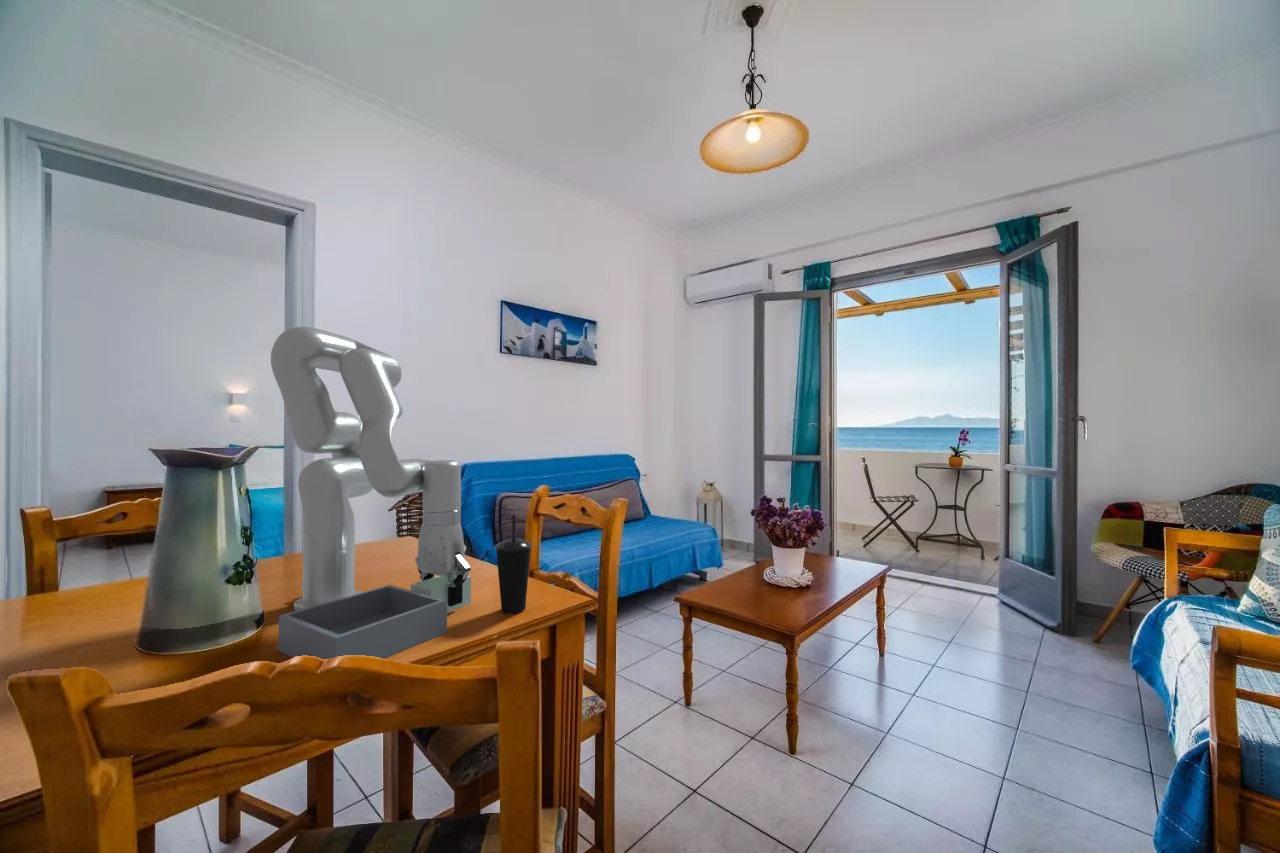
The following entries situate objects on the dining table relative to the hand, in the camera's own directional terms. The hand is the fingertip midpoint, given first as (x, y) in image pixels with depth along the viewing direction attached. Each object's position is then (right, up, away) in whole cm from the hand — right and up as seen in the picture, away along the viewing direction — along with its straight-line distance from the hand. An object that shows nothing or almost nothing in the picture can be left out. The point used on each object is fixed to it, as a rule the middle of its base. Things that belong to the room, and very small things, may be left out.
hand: (441, 600), depth 106 cm
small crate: (0, -2, 0) cm, 2 cm away
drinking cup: (+15, -2, -1) cm, 16 cm away
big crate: (-7, -1, -17) cm, 18 cm away
